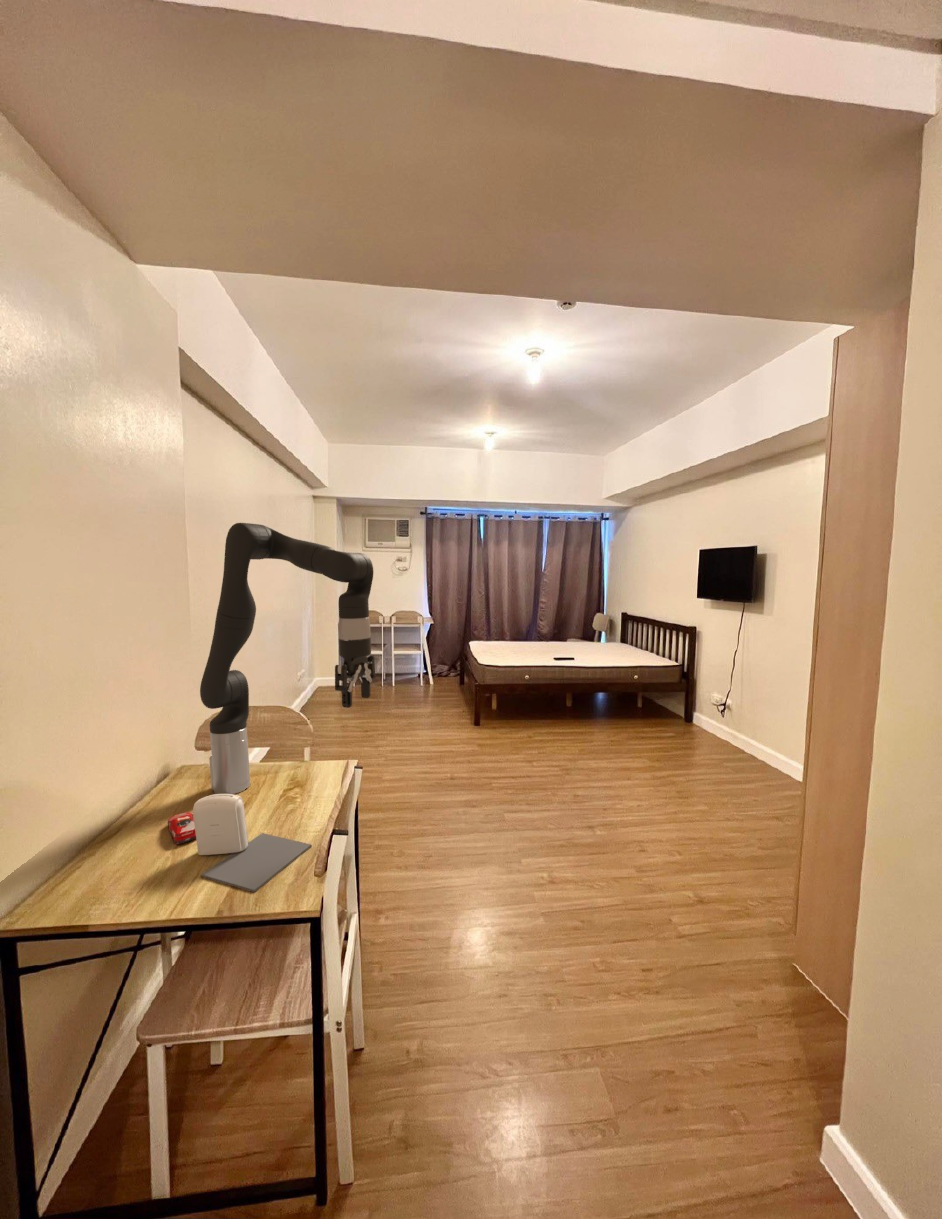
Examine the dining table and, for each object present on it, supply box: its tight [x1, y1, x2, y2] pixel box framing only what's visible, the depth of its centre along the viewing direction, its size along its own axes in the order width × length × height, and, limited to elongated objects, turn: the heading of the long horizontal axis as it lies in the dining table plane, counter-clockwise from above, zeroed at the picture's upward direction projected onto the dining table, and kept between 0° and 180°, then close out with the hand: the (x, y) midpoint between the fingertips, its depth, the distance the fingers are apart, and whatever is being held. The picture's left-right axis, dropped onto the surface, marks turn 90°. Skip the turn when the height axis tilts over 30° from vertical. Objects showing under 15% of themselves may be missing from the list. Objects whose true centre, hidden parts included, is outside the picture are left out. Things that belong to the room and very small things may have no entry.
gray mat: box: [200, 832, 312, 893], centre depth 101 cm, size 14×16×1 cm
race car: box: [167, 812, 196, 845], centre depth 113 cm, size 13×5×4 cm, turn 38°
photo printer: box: [192, 793, 249, 856], centre depth 104 cm, size 10×4×12 cm, turn 90°
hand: (356, 702), depth 116 cm, fingers open, 8 cm apart
